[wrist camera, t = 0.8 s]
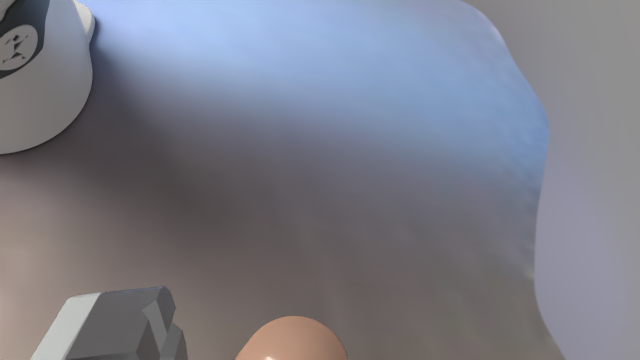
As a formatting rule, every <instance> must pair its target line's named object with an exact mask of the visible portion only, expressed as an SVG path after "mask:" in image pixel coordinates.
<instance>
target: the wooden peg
mask: <svg viewBox="0 0 640 360" xmlns="http://www.w3.org/2000/svg"><path fill="white" fill-rule="evenodd" d="M234 360H348V358H347V354H346V352H345V349H344V347H343V345H342V344H341V342H340V340H339V339H338V338H337V336H336V335H335V334H334V333H333V332H332V331H331V330H330V329H329V328H327V327H326V326H325V325H323V324H322V323H320V322H318V321H316V320H314V319H311V318H307V317H302V316H287V317H282V318H278V319H275V320H273V321H271V322H269V323H267V324H265V325H264V326H262V327H261V328H260V329H259V330H258V331H257V332H256V333H255V334H254V335H253V336H252V337H251V338H250V340H249V341H248V342H247V343H246V345H245V346H244V347H243V349H242V350H241V351H240V352H239V354H238V355H237V356H236V357H235V359H234Z"/></svg>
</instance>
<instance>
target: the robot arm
mask: <svg viewBox="0 0 640 360" xmlns="http://www.w3.org/2000/svg"><path fill="white" fill-rule="evenodd" d="M94 28H95V19H94V16H93V14H92V12H91V10H90V9H89V8H87V7H86V6H84V5H83V4H81V3H80V2H78V1H76V0H0V154H6V153H12V152H17V151H22V150H25V149H28V148H31V147H34V146H37V145H39V144H41V143H43V142H45V141H47V140H49V139H51V138H53V137H54V136H56V135H57V134H59V133H60V132H61V131H63V130H64V129H65V128H66V127H67V126H68V125H69V124H70V123H71V122H72V121H73V120H74V119H75V118H76V117H77V115H78V114H79V113H80V111H81V110H82V108H83V107H84V105H85V103H86V101H87V99H88V96H89V93H90V90H91V85H92V77H93V70H92V62H91V57H90V51H89V44H90V41H91V38H92V35H93V32H94ZM175 309H176V307H175V304H174V301H173V298H172V295H171V292H170V290H169V289H168V288H166V287H165V286H161V287H151V288H141V289H131V290H121V291H111V292H105V293H101V292H99V293H92V294H84V295H77V296H73V297H71V298H68V299H67V301H66V302H65V304H64V305H63V307H62V309H61V310H60V312H59V314H58V315H57V317H56V318H55V320H54V322H53V323H52V325H51V327H50V328H49V330H48V331H47V333H46V335H45V336H44V338H43V339H42V341H41V343H40V344H39V346H38V348H37V349H36V351H35V352H34V354H33V356H32V357H31V359H30V360H188V356H187V349H186V342H185V339H184V335H183V331H182V330H181V329H180V328H179V327H177V326H176V325H175V324H174V323H172V318H173V315H174V312H175Z"/></svg>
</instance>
